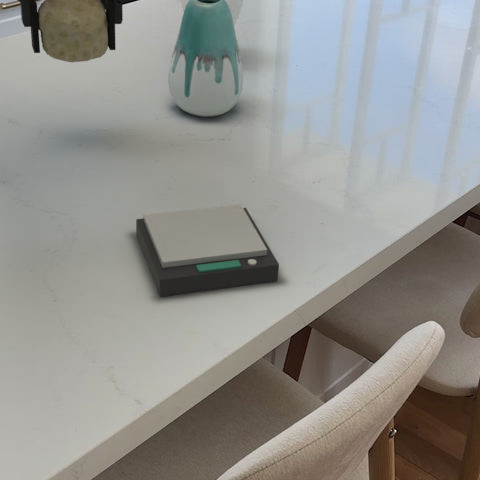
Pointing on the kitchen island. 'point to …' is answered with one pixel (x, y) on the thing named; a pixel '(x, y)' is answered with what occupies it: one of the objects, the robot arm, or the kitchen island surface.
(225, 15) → the vase
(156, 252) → the scale
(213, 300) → the kitchen island surface
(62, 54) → the beige textured cylinder
